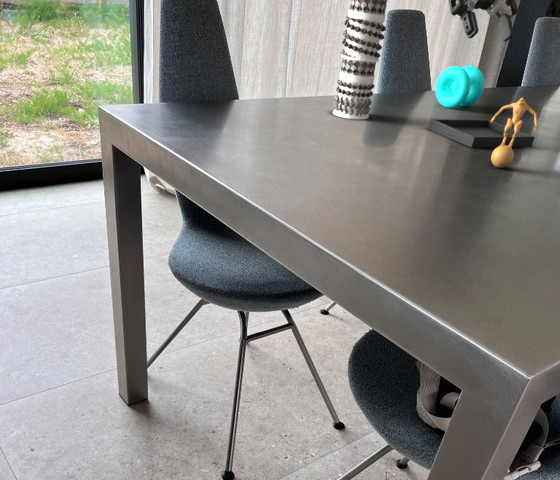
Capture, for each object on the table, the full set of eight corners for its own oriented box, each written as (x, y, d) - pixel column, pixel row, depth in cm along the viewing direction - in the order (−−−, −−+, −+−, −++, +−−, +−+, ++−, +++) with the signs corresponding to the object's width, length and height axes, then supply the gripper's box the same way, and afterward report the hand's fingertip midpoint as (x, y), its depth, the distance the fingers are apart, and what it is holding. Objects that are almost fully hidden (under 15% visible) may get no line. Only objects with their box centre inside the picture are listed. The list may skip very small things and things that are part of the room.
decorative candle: (325, 114, 130) (343, -17, 116) (339, 108, 137) (357, -16, 123) (362, 121, 128) (385, -11, 113) (374, 115, 135) (398, -10, 120)
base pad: (485, 128, 136) (488, 119, 134) (531, 146, 125) (534, 136, 124) (427, 128, 129) (430, 119, 128) (471, 147, 118) (474, 137, 117)
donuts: (429, 103, 156) (438, 62, 150) (449, 101, 162) (459, 62, 156) (459, 112, 150) (471, 70, 144) (479, 109, 156) (491, 69, 150)
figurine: (474, 164, 107) (495, 95, 100) (482, 158, 112) (502, 91, 105) (519, 174, 104) (543, 104, 97) (524, 168, 109) (548, 100, 102)
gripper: (455, -69, 98) (476, 20, 98) (515, -58, 104) (535, 26, 103) (428, -35, 105) (447, 48, 105) (485, -27, 111) (504, 52, 110)
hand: (491, 37), depth 104 cm, fingers open, 8 cm apart
